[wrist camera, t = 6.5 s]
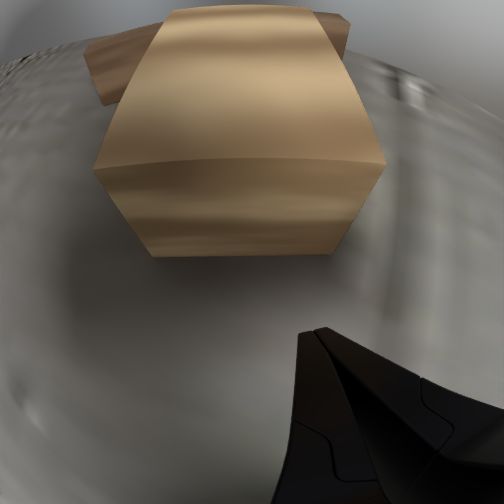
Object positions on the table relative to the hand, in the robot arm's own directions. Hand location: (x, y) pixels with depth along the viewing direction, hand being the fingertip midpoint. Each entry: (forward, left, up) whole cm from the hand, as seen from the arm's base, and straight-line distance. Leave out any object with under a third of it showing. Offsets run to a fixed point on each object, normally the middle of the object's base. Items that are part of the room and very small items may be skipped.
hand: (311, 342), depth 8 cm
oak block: (+10, +9, -7) cm, 15 cm away
